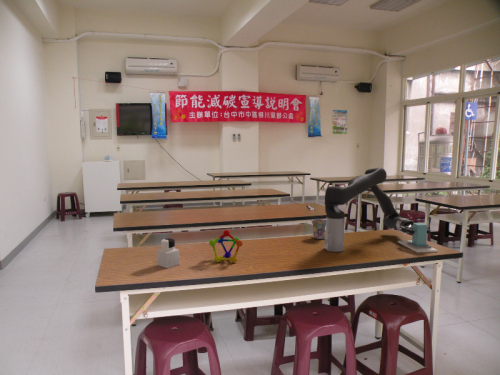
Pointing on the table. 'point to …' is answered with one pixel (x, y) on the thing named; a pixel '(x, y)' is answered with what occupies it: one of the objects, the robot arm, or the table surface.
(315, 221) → the mug
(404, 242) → the baseplate
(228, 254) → the educational toy
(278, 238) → the table surface
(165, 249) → the grey block with knob
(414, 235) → the pillar
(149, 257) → the table surface
